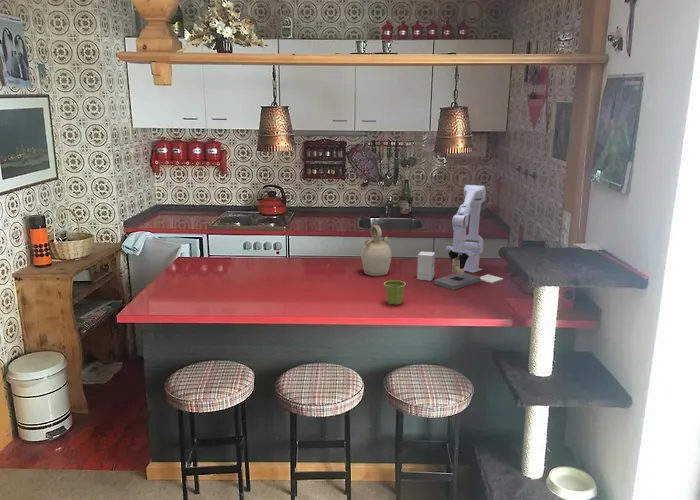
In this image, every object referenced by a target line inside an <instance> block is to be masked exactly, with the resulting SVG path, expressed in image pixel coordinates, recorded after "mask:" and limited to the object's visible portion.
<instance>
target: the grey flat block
mask: <svg viewBox="0 0 700 500" xmlns="http://www.w3.org/2000/svg"><path fill="white" fill-rule="evenodd" d="M481 281H482V280H481V276H477V275H473V274H470V273H467V272H464V273H462V274H459V275H458V274H455V273H452V274H450V275H446V276H443V277H440V278H436V279H434V280H433V284H434V285H436V286H440V287H442V288H445V289H448V290H452V291H455V290H458V289H461V288H464V287H467V286H470V285H474V284H477V283H480V282H481Z"/></svg>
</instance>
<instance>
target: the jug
mask: <svg viewBox="0 0 700 500" xmlns="http://www.w3.org/2000/svg"><path fill="white" fill-rule="evenodd" d="M376 233H377V234H376ZM382 235H383V233H382V229H381V227H380V226H379V225H378V224H373V225H372V226H371V228H370V236H371V238H372V240H371V239H370V238H366V239H364V240H363V246H362V249H361V253H360V258H361V264H362V268H363V273H364V274H366V275H368V276H372V277H379V276H380V277H382V276H385V275H387V274H388V273H389V270H390V265H391V262H392V261H391V260H392V249H391V248H390V246H389V244H387V242H388V236H385V237H384V238H382ZM381 238H382V240H381Z"/></svg>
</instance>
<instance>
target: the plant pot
mask: <svg viewBox="0 0 700 500" xmlns="http://www.w3.org/2000/svg"><path fill="white" fill-rule="evenodd" d="M383 286H384V289H385V292H386V300H387V304H388V305H400V304H402V302H403V297H404V296H403V295H404V289H405V286H406V282H405V281H401V280H386V281H384V282H383Z"/></svg>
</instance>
